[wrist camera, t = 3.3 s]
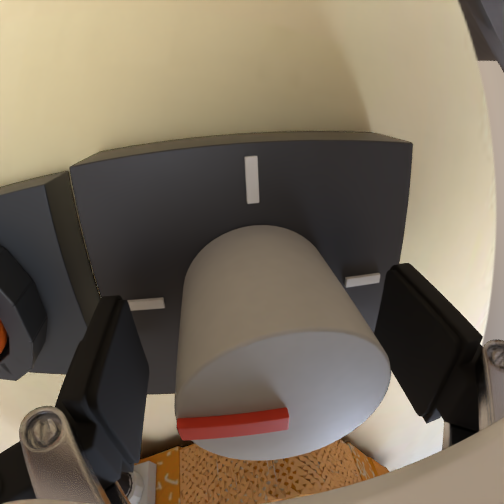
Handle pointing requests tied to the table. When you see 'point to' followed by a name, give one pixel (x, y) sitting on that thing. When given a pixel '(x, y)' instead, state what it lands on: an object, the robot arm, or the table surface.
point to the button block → (42, 277)
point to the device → (244, 476)
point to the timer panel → (238, 216)
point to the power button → (2, 337)
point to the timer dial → (272, 349)
